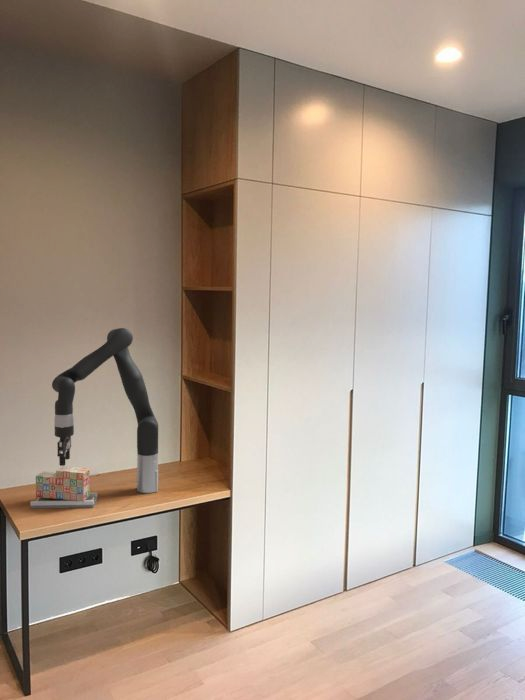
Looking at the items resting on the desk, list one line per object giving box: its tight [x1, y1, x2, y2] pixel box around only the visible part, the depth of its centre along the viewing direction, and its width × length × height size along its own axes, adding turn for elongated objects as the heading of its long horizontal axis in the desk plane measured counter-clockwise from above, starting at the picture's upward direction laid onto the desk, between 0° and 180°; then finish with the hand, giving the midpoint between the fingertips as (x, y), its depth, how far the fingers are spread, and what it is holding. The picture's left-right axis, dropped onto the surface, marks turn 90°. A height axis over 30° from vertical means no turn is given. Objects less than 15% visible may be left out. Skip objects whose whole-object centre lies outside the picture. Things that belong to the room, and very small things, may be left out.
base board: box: [30, 492, 98, 509], centre depth 238 cm, size 25×10×3 cm, turn 97°
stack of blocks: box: [35, 465, 91, 502], centre depth 237 cm, size 21×6×12 cm, turn 81°
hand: (64, 462), depth 236 cm, fingers open, 8 cm apart
